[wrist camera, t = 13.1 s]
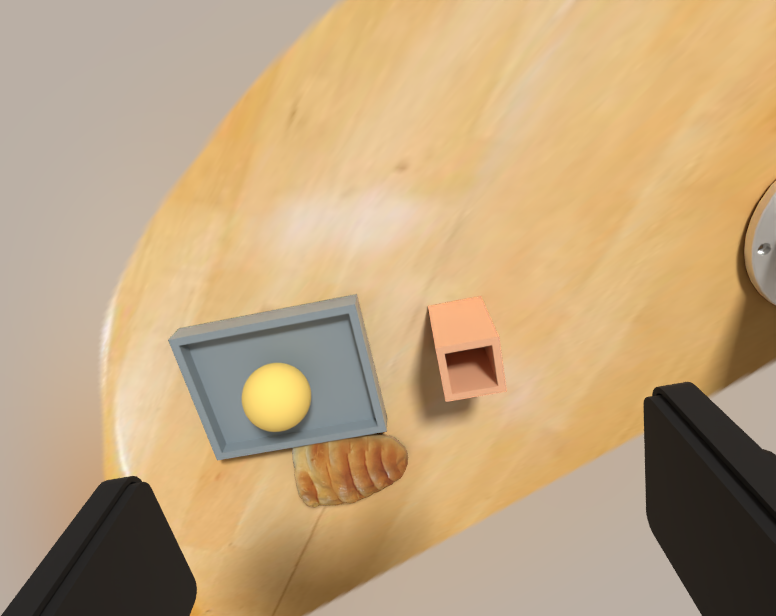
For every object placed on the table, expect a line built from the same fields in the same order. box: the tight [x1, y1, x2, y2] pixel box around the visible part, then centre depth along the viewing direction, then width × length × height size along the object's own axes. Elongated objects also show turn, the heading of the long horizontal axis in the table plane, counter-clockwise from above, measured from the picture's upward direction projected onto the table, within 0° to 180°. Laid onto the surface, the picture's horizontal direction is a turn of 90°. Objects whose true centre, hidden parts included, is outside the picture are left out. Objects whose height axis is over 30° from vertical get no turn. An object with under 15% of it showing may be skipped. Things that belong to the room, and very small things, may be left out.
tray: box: [168, 294, 387, 460], centre depth 40 cm, size 14×11×2 cm
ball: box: [242, 363, 311, 432], centre depth 38 cm, size 5×5×5 cm
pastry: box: [292, 434, 408, 507], centre depth 43 cm, size 9×7×4 cm
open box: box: [428, 296, 507, 402], centre depth 36 cm, size 4×4×7 cm
